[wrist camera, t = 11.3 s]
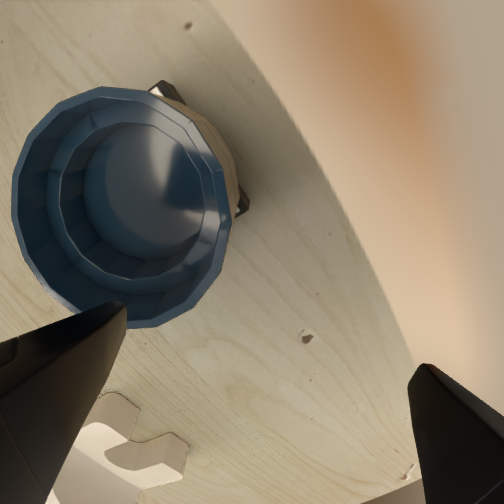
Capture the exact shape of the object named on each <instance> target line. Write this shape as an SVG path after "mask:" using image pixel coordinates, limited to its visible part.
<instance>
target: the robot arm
mask: <svg viewBox="0 0 504 504" xmlns="http://www.w3.org/2000/svg"><path fill="white" fill-rule="evenodd" d="M126 329H127V305H126V304H125V303H121V302H118V301H114V300H113V301H110V302H107V303H105V304H102V305H99V306H97V307H94V308H91V309H89V310H86V311H83V312H81V313H78V314H75V315H73V316H70V317H68V318H65V319H62V320H60V321H57V322H54V323H52V324H49V325H46V326H44V327H41V328H38V329H36V330H33V331H31V332H28V333H25V334H23V335H20V336H18V337H15V338H12V339H9V340H7V341H4V342H1V343H0V504H45V503H46V501H47V499H48V497H47V496H49V494H50V492H51V490H52V487H53V485H54V483H55V481H56V479H57V477H58V474H59V472H60V470H61V468H62V466H63V464H64V462H65V460H66V458H67V456H68V454H69V452H70V450H71V448H72V446H73V444H74V442H75V440H76V438H77V436H78V434H79V432H80V430H81V428H82V426H83V424H84V422H85V420H86V418H87V416H88V414H89V412H90V410H91V409H92V407H93V405H94V403H95V401H96V399H97V397H98V395H99V394H100V392H101V390H102V388H103V386H104V384H105V382H106V380H107V378H108V376H109V374H110V371H111V369H112V366H113V364H114V361H115V359H116V356H117V354H118V351H119V349H120V347H121V344H122V342H123V339H124V337H125V334H126ZM407 389H408V397H409V404H410V412H411V420H412V428H413V433H414V438H415V443H416V448H417V453H418V458H419V463H420V469H421V475H422V481H423V487H424V494H425V500H426V504H504V416H502V415H501V414H500V413H498V412H497V411H496V410H494V409H492V408H491V407H490V406H489V405H487V404H486V403H485V402H483V401H482V400H480V399H479V398H478V397H476V396H475V395H474V394H472V393H471V392H470V391H468V390H467V389H466V388H464V387H463V386H462V385H460V384H459V383H457V382H456V381H455V380H453V379H452V378H451V377H449V376H448V375H447V374H445V373H444V372H442V371H441V370H440V369H438V368H437V367H436V366H434V365H432V364H425V363H423V364H421V365H420V366H419V367H418V368H417V370H416V371H415V373H414V375H413V376H412V378H411V379H410V381H409V383H408V388H407Z"/></svg>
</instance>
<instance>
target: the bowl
mask: <svg viewBox="0 0 504 504" xmlns="http://www.w3.org/2000/svg"><path fill="white" fill-rule="evenodd" d="M239 196H240V194H239V188H238V181H237V175H236V169H235V163H234V158H233V156H232V154H231V152H230V151H229V149H228V148H227V146H226V144H225V143H224V141H223V140H222V138H221V137H220V135H219V133H218V132H217V130H216V129H215V127H214V126H213V124H211V122H209V121H208V120H206V119H205V118H203V117H202V116H200V115H199V114H197V113H196V112H194V111H193V110H191V109H190V108H188V107H187V106H185V105H183V104H182V103H180V102H177V101H174V100H172V99H169V98H166V97H163V96H160V95H157V94H154V93H151V92H148V91H142V90H134V89H125V88H115V87H103V86H101V87H97V88H94V89H92V90H89V91H86V92H84V93H81V94H78V95H76V96H73V97H71V98H69V99H66V100H64V101H61V102H59V103H58V104H57V105H56V106H55V107H54V108H53V109H52V110H51V111H50V112H49V113H48V114H47V115H46V116H45V117H44V118H43V119H42V120H41V121H40V122H39V123H38V124H37V125H36V126H35V128H34V129H33V130H32V131H31V132H30V133H29V135H28V136H27V138H26V141H25V143H24V146H23V148H22V151H21V153H20V156H19V158H18V161H17V164H16V166H15V169H14V172H13V176H12V196H11V217H12V222H13V226H14V229H15V233H16V236H17V240H18V243H19V246H20V249H21V252H22V256H23V258H24V260H25V262H26V263H27V265H28V266H29V268H30V269H31V271H32V272H33V274H34V275H35V276H36V278H37V279H38V281H39V282H40V284H41V285H42V286H43V288H44V289H45V291H46V292H47V293H48V294H49V295H51V296H52V297H53V298H54V299H56V300H57V301H58V302H59V303H61V304H62V305H63V306H65V307H66V308H67V309H69V310H70V311H71V312H73V313H74V314H78V313H81V312H83V311H86V310H89V309H91V308H94V307H97V306H99V305H102V304H105V303H107V302H110V301H113V300H114V301H118V302H121V303H125V304H126V305H127V329H138V328H153V327H158V326H160V325H162V324H164V323H166V322H168V321H170V320H172V319H174V318H175V317H177V316H179V315H181V314H183V313H185V312H187V311H189V310H191V309H193V308H194V307H195V305H196V304H197V303H198V302H199V300H200V299H201V298H202V296H203V295H204V294H205V292H206V291H207V290H208V288H209V287H210V286H211V285H212V283H213V282H214V281H215V279H216V278H217V277H218V275H219V274H220V272H221V270H222V266H223V262H224V258H225V255H226V251H227V247H228V243H229V239H230V236H231V232H232V228H233V224H234V219H235V215H236V211H237V207H238V203H239V199H240V197H239Z"/></svg>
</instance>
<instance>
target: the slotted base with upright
mask: <svg viewBox="0 0 504 504" xmlns="http://www.w3.org/2000/svg"><path fill="white" fill-rule="evenodd" d="M139 412H140V410H139V409H138V408H137V407H135V406H134V405H133V404H132V403H130V402H129V401H128V400H127V399H125V398H124V397H123V396H121V395H119V394H117V393H112V392H111V393H107V394H105V395H104V396H102V397H100V398H99V399H97V400H96V401H95V403H94V405H93V407H92V409H91V410H90V412H89V414H88V416H87V418H86V420H85V422H84V424H83V426H82V428H81V430H80V432H79V434H78V436H77V438H76V440H75V442H74V444H73V446H72V448H71V450H70V452H69V454H68V456H67V458H66V460H65V462H64V464H63V466H62V468H61V470H60V472H59V474H58V477H57V479H56V481H55V483H54V485H53V487H52V490H51V492H50V494H49V496H47V497H48V499H47V501H46V504H138V500H139V496H140V493H141V490H142V489H147V488H151V487H155V486H160V485H164V484H168V483H172V482H175V481H179V480H182V479H183V473H184V468H185V463H186V458H187V453H188V445H187V444H186V443H185V442H184V441H182V440H181V439H179V438H178V437H176V436H175V435H174V434H172V433H171V432H170V433H167V434H165V435H163V436H160V437H158V438H155V439H153V440H150V441H148V442H144V443H138V442H133V441H130V440H129V439H130V437H131V434H132V431H133V428H134V426H135V423H136V420H137V417H138V415H139Z"/></svg>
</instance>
